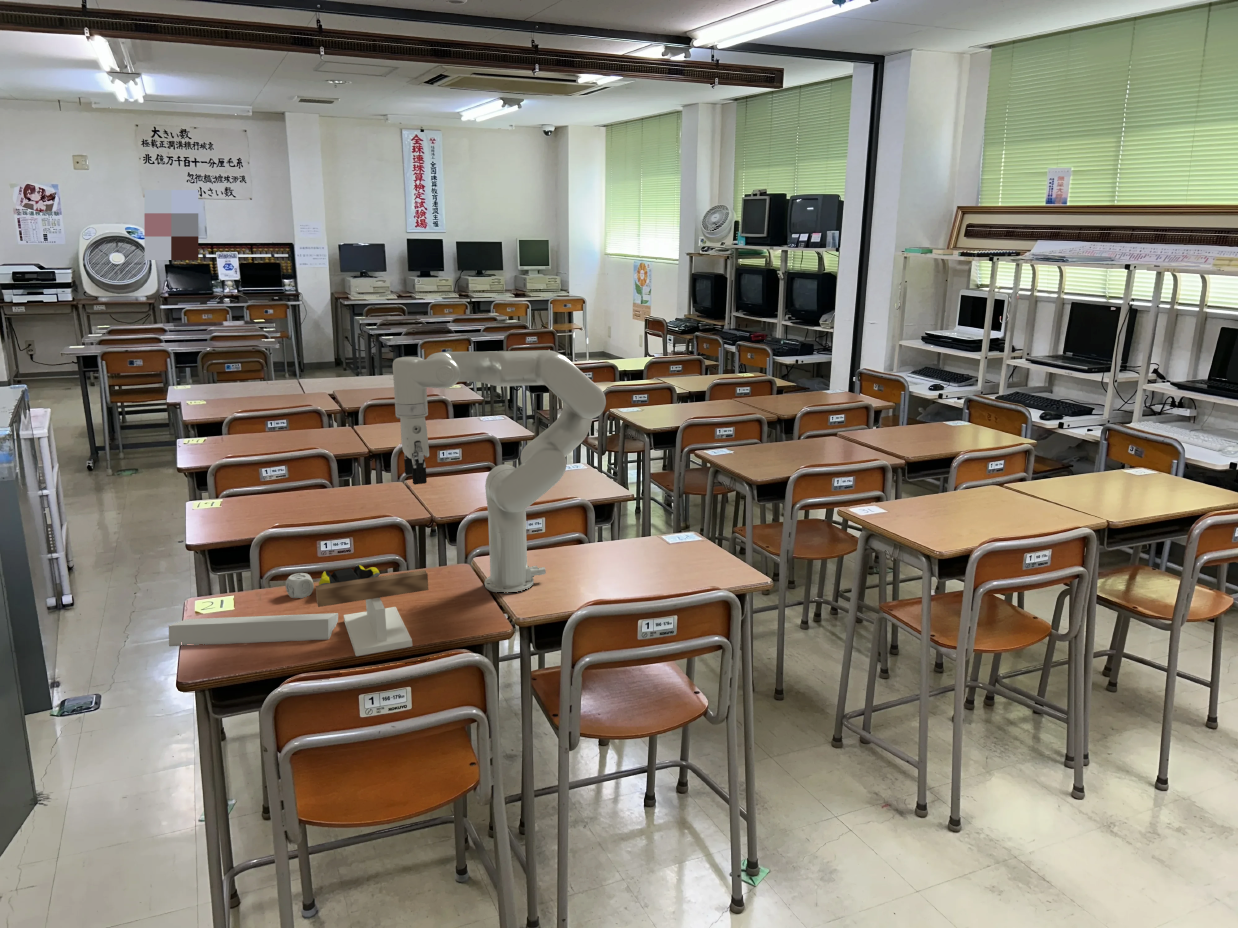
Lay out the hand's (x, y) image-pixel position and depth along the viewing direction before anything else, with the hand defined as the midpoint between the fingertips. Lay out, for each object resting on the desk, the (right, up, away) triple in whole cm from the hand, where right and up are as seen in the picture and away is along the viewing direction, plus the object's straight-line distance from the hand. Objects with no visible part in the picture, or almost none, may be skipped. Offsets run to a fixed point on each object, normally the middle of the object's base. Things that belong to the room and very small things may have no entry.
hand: (415, 478), depth 214 cm
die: (-31, -30, +8) cm, 43 cm away
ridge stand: (-6, -35, -14) cm, 38 cm away
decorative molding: (-33, -35, -14) cm, 50 cm away
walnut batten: (-6, -26, -16) cm, 31 cm away
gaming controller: (-20, -29, +12) cm, 37 cm away
